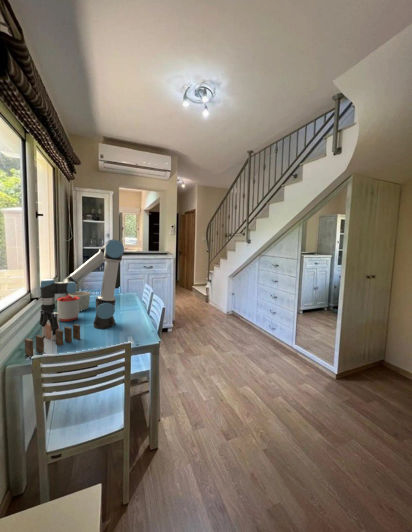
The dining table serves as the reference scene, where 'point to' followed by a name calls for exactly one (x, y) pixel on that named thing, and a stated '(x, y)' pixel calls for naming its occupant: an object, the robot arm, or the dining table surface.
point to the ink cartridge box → (57, 320)
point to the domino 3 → (48, 331)
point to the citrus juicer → (68, 308)
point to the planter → (82, 299)
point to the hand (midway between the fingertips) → (49, 337)
